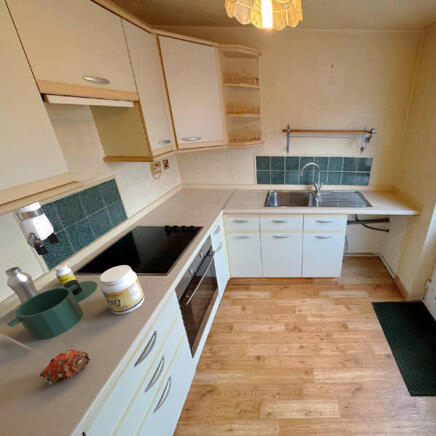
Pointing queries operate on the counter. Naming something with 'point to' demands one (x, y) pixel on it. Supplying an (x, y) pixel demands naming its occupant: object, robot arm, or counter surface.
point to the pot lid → (82, 289)
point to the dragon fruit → (65, 365)
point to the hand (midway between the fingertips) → (49, 248)
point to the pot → (49, 313)
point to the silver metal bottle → (21, 284)
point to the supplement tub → (121, 289)
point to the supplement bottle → (64, 274)
